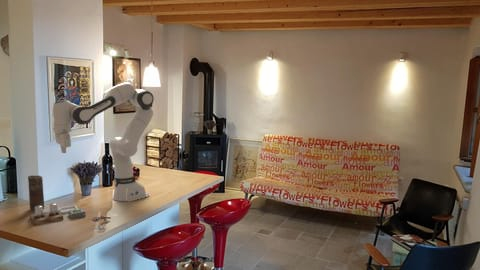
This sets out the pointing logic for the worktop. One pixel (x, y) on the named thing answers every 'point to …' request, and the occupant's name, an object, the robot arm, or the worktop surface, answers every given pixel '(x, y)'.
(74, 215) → the grey square holed block
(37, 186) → the brown rounded piece
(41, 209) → the seated billet
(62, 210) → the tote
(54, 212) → the cylinder
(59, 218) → the wooden holder frame
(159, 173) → the worktop surface
